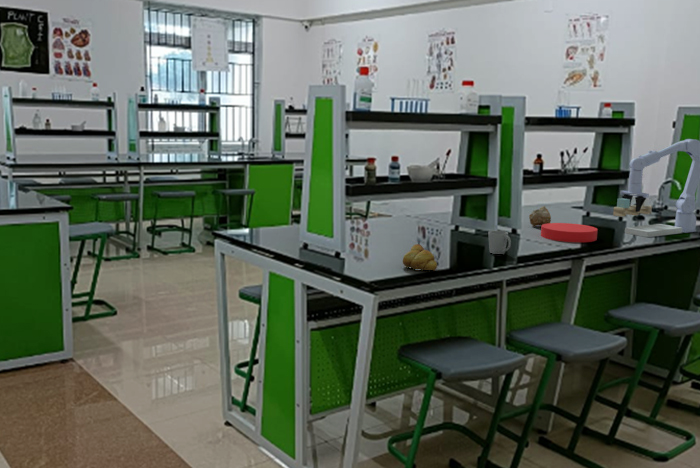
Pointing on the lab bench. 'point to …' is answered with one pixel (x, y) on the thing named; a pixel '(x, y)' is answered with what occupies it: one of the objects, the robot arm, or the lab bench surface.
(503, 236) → the cup
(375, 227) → the lab bench surface
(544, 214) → the rock
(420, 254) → the bread roll
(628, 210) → the beige lumpy bar
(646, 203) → the crate white
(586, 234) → the disc
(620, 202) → the crate teal
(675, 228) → the dock
